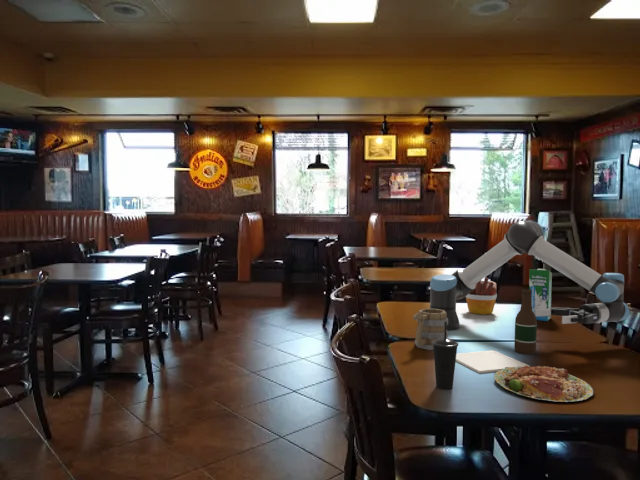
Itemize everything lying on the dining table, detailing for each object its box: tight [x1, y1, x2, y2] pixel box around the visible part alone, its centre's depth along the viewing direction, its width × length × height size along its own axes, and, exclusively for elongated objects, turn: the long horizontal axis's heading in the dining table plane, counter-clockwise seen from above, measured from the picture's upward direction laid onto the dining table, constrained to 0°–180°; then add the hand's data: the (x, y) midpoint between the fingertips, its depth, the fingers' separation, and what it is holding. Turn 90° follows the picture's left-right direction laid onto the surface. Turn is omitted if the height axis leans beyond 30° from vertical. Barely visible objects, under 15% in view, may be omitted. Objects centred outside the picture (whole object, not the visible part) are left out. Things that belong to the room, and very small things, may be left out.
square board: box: [455, 349, 531, 374], centre depth 179 cm, size 20×20×1 cm
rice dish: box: [494, 364, 595, 403], centre depth 155 cm, size 28×28×5 cm
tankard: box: [412, 308, 449, 351], centre depth 197 cm, size 20×13×15 cm, turn 134°
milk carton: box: [528, 268, 553, 322], centre depth 252 cm, size 9×9×25 cm
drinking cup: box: [432, 322, 459, 391], centre depth 153 cm, size 8×8×20 cm
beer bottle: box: [513, 288, 538, 356], centre depth 192 cm, size 8×8×24 cm
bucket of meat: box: [465, 276, 498, 316], centre depth 265 cm, size 20×16×20 cm
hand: (549, 316), depth 195 cm, fingers open, 13 cm apart
